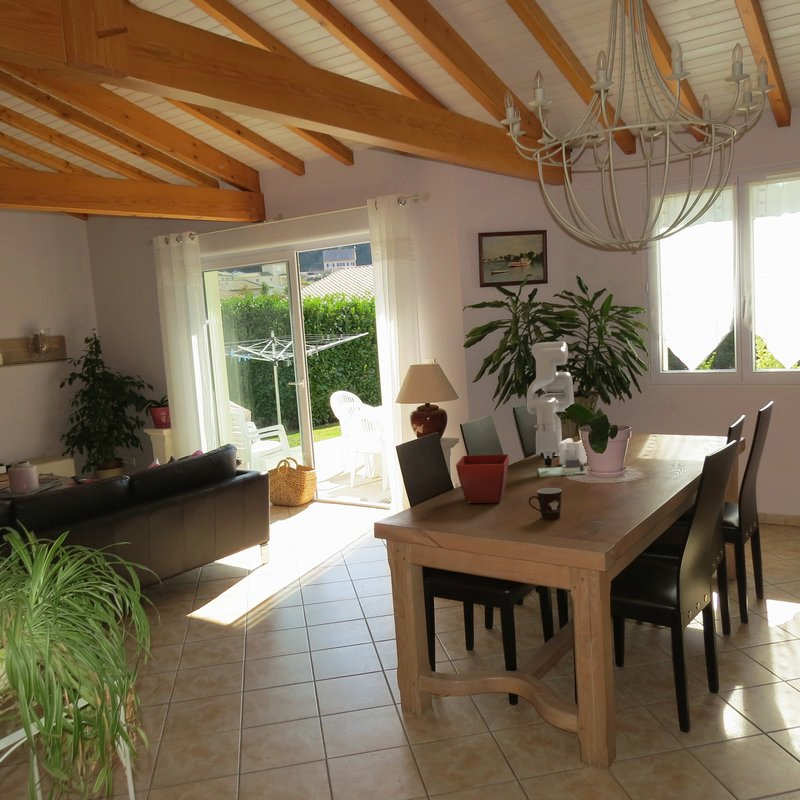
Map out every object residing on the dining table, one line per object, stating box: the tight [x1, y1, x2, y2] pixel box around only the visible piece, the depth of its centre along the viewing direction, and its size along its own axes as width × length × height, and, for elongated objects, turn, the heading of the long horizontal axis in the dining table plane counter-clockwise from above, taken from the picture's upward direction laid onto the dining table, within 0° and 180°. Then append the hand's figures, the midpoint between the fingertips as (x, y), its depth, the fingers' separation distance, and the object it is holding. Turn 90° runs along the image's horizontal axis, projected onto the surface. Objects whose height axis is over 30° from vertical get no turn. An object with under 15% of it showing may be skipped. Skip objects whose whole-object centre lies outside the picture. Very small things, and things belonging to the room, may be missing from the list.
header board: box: [537, 460, 586, 478], centre depth 349 cm, size 14×20×5 cm
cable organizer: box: [558, 437, 588, 466], centre depth 365 cm, size 15×11×12 cm
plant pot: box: [455, 453, 510, 504], centre depth 308 cm, size 19×19×17 cm
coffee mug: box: [528, 487, 563, 521], centre depth 275 cm, size 12×9×10 cm
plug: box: [565, 458, 580, 468], centre depth 348 cm, size 4×6×5 cm, turn 83°
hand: (548, 466), depth 350 cm, fingers closed
